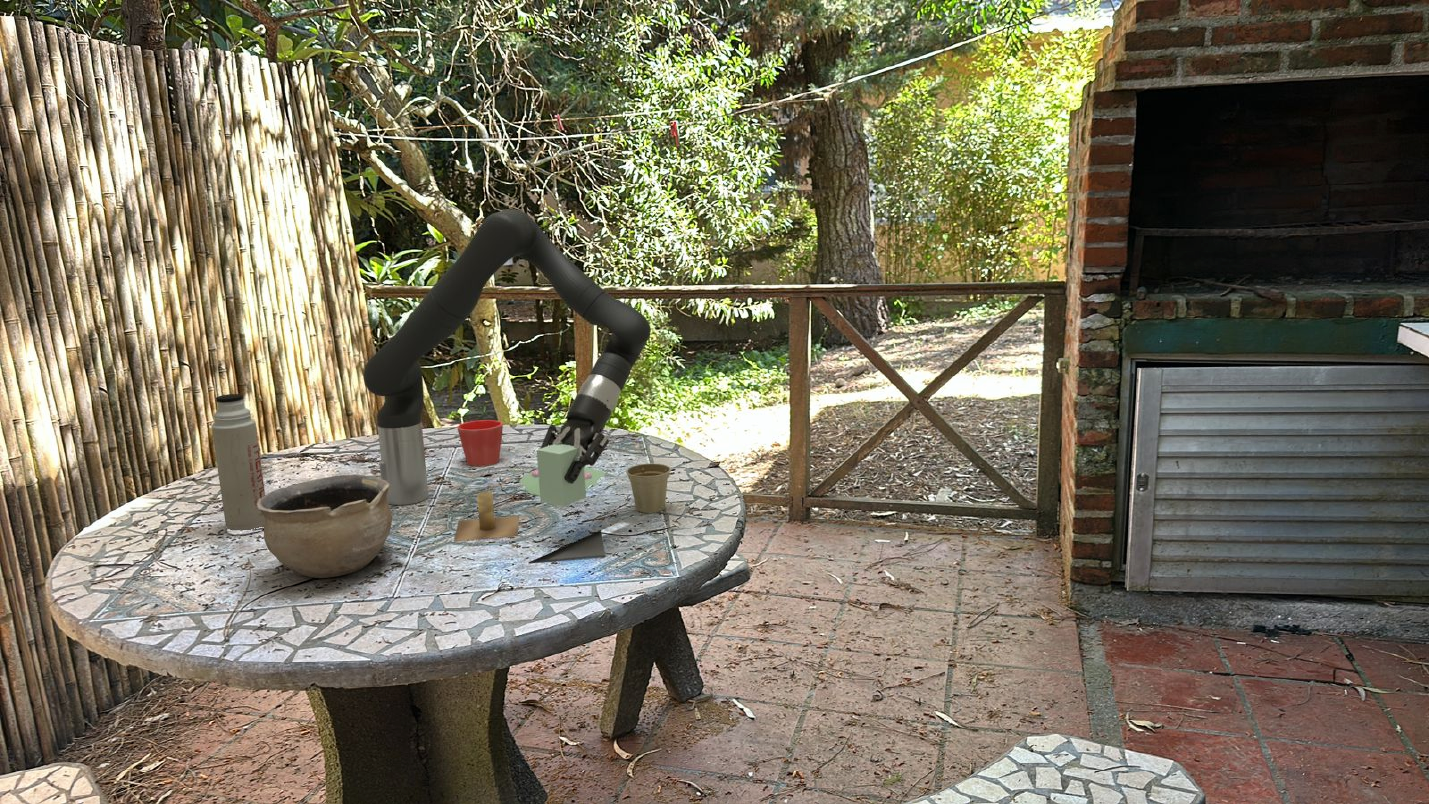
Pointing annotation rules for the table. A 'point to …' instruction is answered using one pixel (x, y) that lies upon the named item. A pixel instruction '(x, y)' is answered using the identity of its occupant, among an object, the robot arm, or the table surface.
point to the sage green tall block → (559, 475)
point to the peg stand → (486, 522)
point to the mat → (577, 550)
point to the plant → (533, 480)
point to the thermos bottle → (238, 463)
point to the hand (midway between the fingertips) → (555, 478)
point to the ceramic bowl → (327, 524)
